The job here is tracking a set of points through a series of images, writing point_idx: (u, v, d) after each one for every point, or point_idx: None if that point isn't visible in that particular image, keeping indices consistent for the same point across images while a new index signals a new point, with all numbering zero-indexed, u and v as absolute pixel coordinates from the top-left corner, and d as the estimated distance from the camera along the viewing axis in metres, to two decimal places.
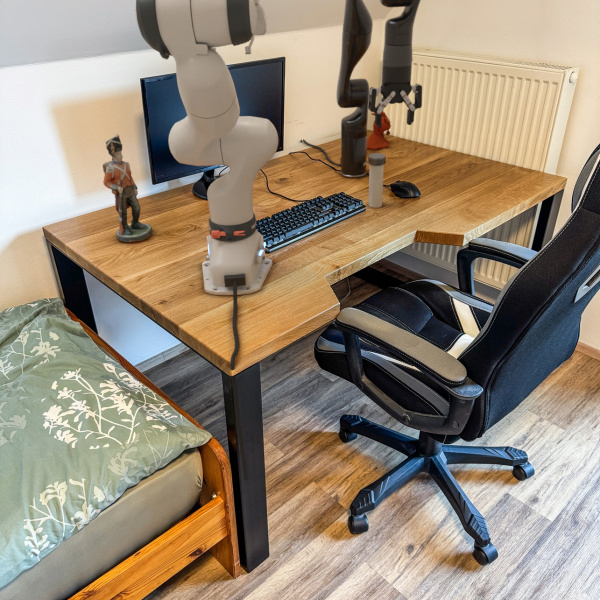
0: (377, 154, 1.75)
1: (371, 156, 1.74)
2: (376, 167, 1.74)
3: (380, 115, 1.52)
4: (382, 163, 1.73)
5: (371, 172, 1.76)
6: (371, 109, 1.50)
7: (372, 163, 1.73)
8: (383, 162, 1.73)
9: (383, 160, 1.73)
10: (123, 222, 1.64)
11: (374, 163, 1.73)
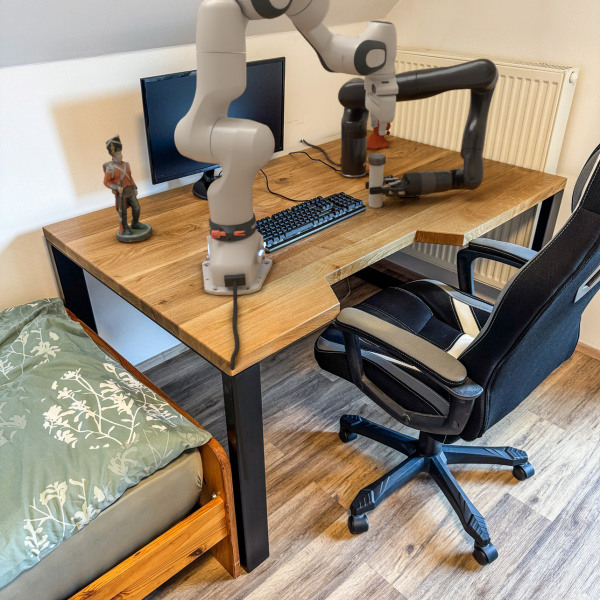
0: (377, 154, 1.75)
1: (371, 156, 1.74)
2: (376, 167, 1.74)
3: None
4: (382, 163, 1.73)
5: (371, 172, 1.76)
6: None
7: (372, 163, 1.73)
8: (383, 162, 1.73)
9: (383, 160, 1.73)
10: (123, 222, 1.64)
11: (374, 163, 1.73)
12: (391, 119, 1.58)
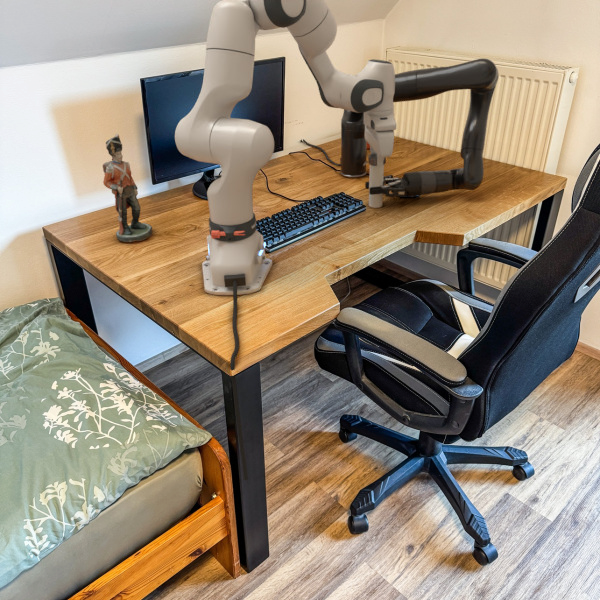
0: None
1: (371, 156, 1.74)
2: (376, 167, 1.74)
3: None
4: None
5: (371, 172, 1.76)
6: None
7: (372, 163, 1.73)
8: (383, 162, 1.73)
9: None
10: (123, 222, 1.64)
11: (374, 163, 1.73)
12: (389, 154, 1.64)
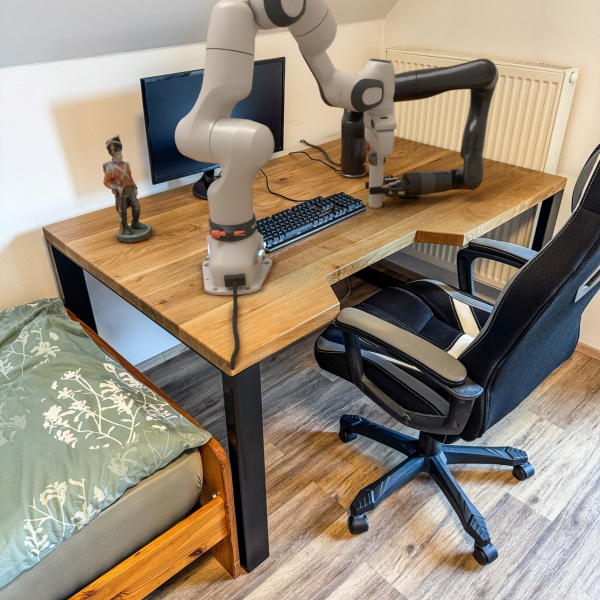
0: (373, 154, 1.74)
1: (376, 157, 1.72)
2: (376, 167, 1.74)
3: None
4: None
5: (371, 172, 1.76)
6: None
7: None
8: None
9: None
10: (123, 222, 1.64)
11: (383, 162, 1.73)
12: (390, 153, 1.64)
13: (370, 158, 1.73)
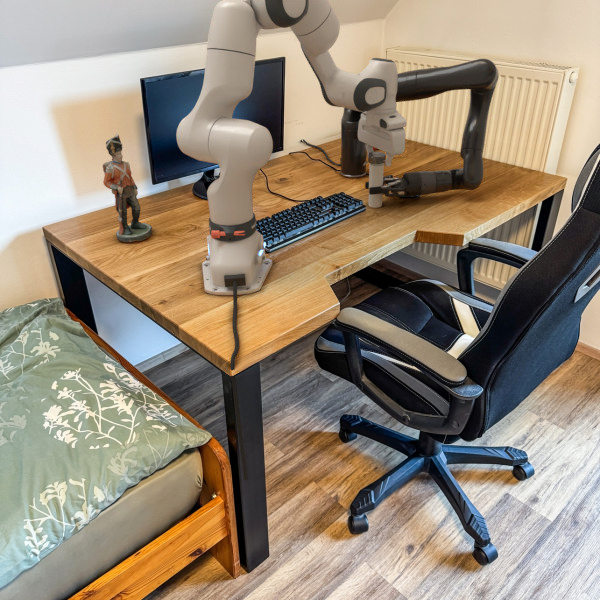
0: (373, 155, 1.73)
1: (382, 155, 1.73)
2: (376, 167, 1.74)
3: None
4: None
5: (370, 172, 1.76)
6: None
7: None
8: None
9: None
10: (123, 222, 1.64)
11: None
12: (402, 151, 1.64)
13: (379, 158, 1.72)
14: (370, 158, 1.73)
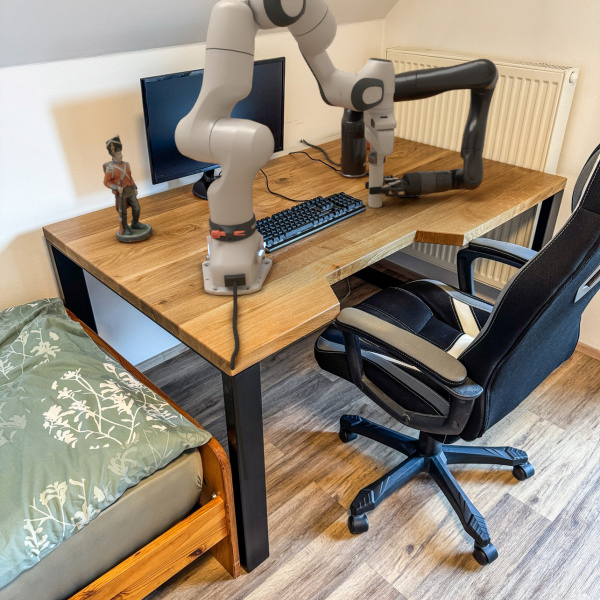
0: (373, 155, 1.73)
1: None
2: (376, 167, 1.74)
3: None
4: None
5: (370, 172, 1.76)
6: None
7: None
8: None
9: None
10: (123, 222, 1.64)
11: None
12: (390, 152, 1.63)
13: None
14: (370, 158, 1.73)
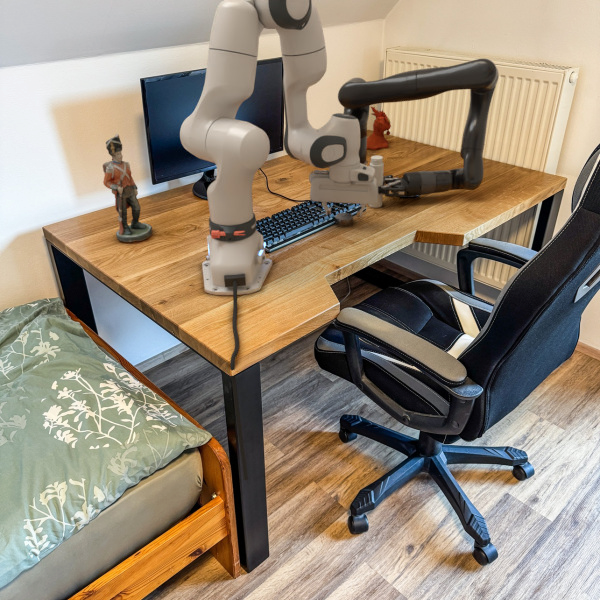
0: (345, 217, 1.69)
1: (348, 214, 1.71)
2: (376, 167, 1.74)
3: None
4: None
5: None
6: None
7: None
8: None
9: None
10: (123, 222, 1.64)
11: None
12: None
13: (352, 217, 1.70)
14: (346, 221, 1.69)
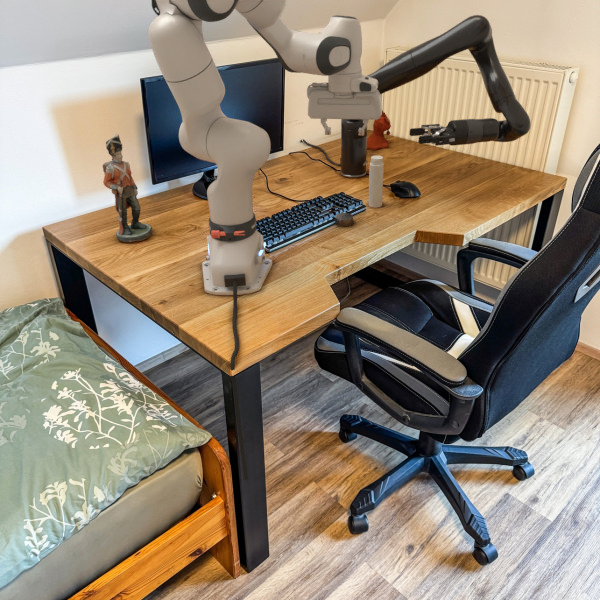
0: (345, 217, 1.69)
1: (348, 214, 1.71)
2: (376, 167, 1.74)
3: None
4: None
5: (370, 172, 1.76)
6: None
7: None
8: None
9: None
10: (123, 222, 1.64)
11: None
12: (381, 113, 1.53)
13: (352, 217, 1.70)
14: (346, 221, 1.69)
